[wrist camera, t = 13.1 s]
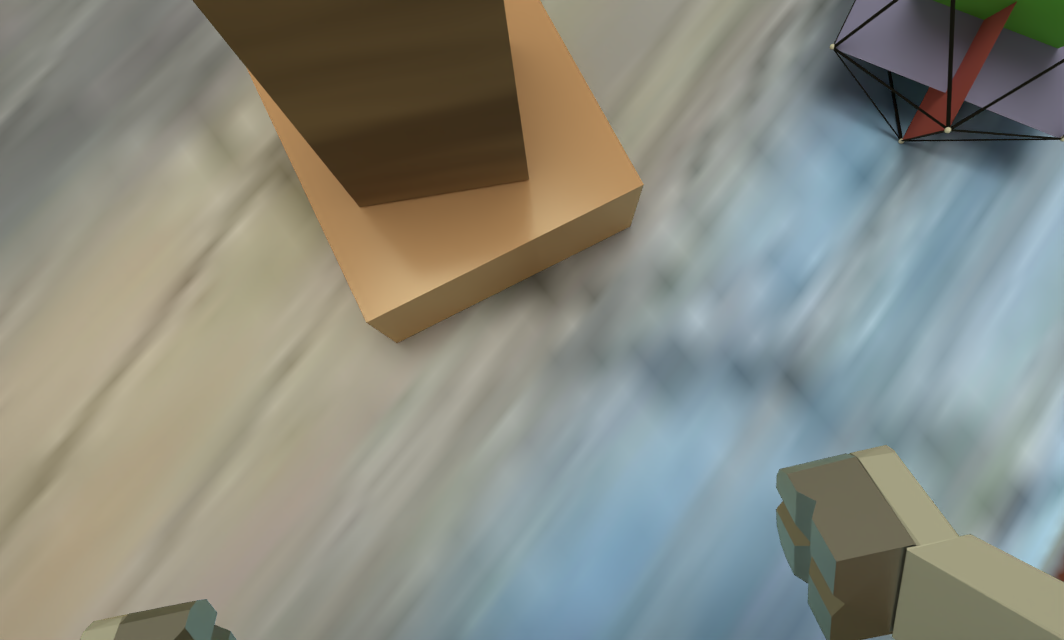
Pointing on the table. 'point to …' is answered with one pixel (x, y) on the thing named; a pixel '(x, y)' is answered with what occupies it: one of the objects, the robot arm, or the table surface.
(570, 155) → the light tan block
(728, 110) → the table surface
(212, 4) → the walnut block
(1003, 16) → the geometric puzzle
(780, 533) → the robot arm
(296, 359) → the table surface
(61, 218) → the table surface
